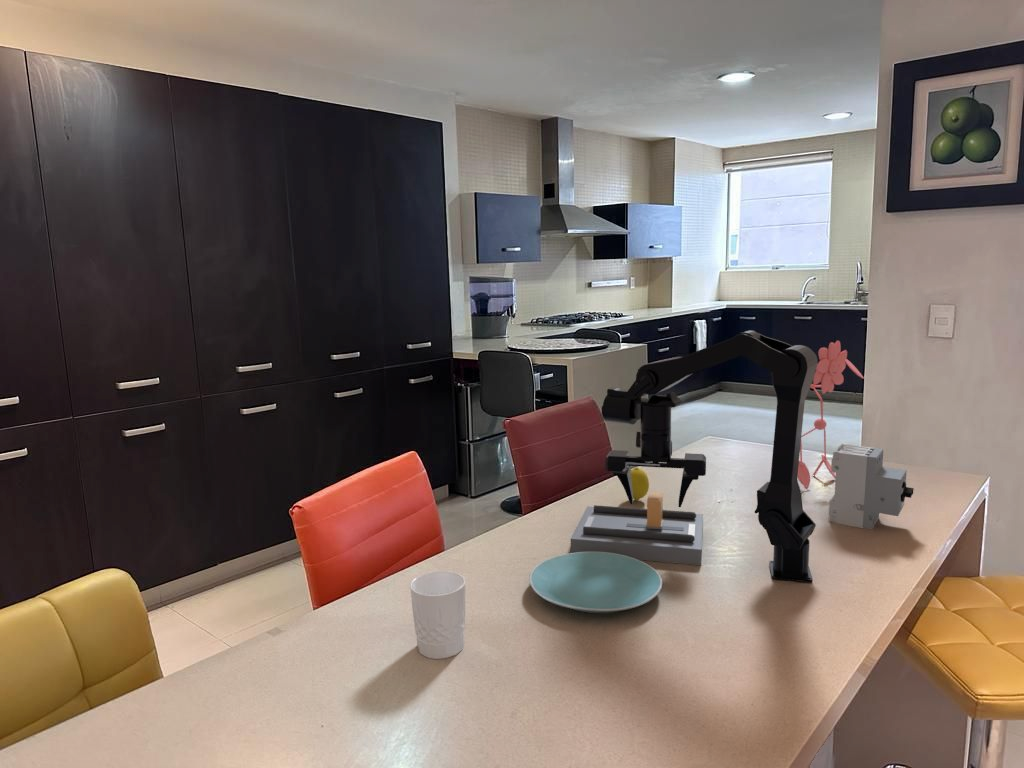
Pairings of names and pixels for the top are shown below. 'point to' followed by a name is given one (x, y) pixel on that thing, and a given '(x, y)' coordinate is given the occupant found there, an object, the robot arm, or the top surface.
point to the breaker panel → (638, 546)
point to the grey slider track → (640, 533)
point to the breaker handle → (654, 511)
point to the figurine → (828, 376)
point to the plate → (595, 581)
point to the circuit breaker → (865, 487)
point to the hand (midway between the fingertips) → (655, 505)
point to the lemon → (639, 483)
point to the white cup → (439, 613)
